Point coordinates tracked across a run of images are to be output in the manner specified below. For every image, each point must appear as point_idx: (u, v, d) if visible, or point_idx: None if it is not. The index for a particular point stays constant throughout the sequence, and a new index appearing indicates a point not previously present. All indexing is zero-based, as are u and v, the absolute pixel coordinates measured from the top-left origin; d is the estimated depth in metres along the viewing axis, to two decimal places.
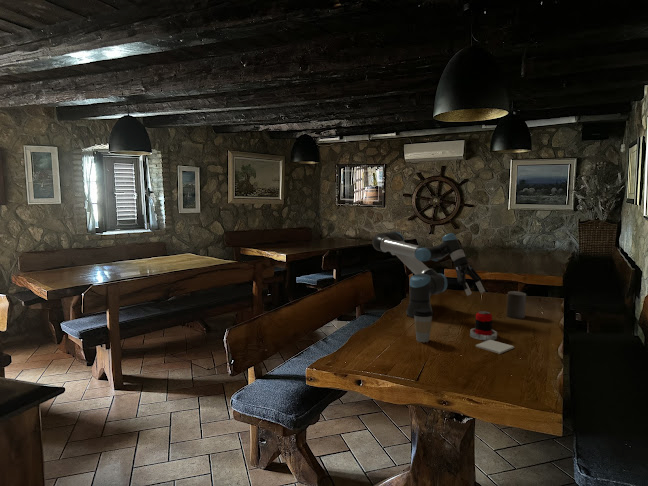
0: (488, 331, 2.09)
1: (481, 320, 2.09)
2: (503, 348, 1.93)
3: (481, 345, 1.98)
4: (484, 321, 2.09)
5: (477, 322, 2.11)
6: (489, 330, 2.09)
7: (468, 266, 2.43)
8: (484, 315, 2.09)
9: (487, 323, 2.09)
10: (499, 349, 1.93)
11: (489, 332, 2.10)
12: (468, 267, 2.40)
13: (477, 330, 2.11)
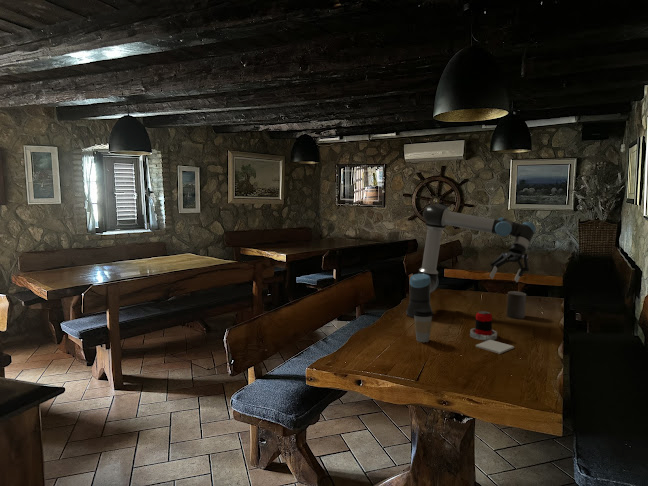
0: (488, 331, 2.09)
1: (481, 320, 2.09)
2: (503, 348, 1.93)
3: (481, 345, 1.98)
4: (484, 321, 2.09)
5: (477, 322, 2.11)
6: (489, 330, 2.09)
7: None
8: (484, 315, 2.09)
9: (487, 323, 2.09)
10: (499, 349, 1.93)
11: (489, 332, 2.10)
12: None
13: (477, 330, 2.11)
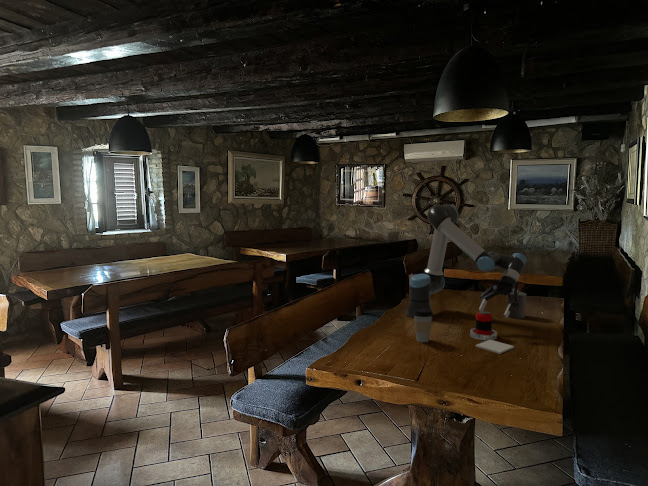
0: (488, 331, 2.09)
1: (481, 320, 2.09)
2: (503, 348, 1.93)
3: (481, 345, 1.98)
4: (484, 321, 2.09)
5: (477, 322, 2.11)
6: (489, 330, 2.09)
7: None
8: (484, 315, 2.09)
9: (487, 323, 2.09)
10: (499, 349, 1.93)
11: (489, 332, 2.10)
12: None
13: (477, 330, 2.11)
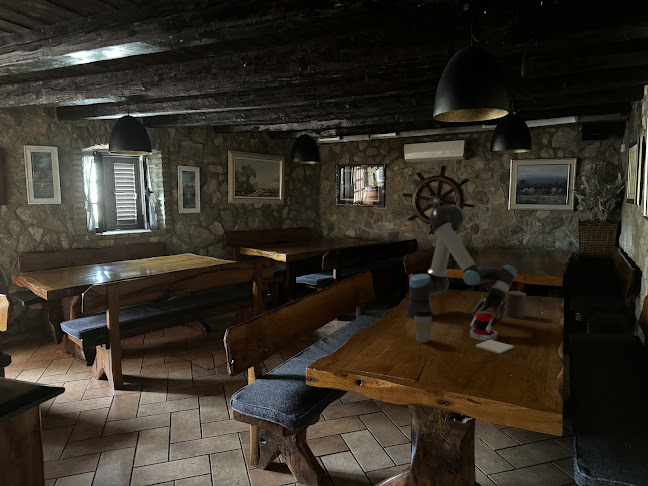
0: None
1: (481, 320, 2.09)
2: (503, 348, 1.93)
3: (481, 345, 1.98)
4: (484, 321, 2.09)
5: (477, 322, 2.11)
6: None
7: None
8: (484, 315, 2.09)
9: (487, 323, 2.09)
10: (499, 349, 1.93)
11: (489, 332, 2.10)
12: None
13: (477, 330, 2.11)
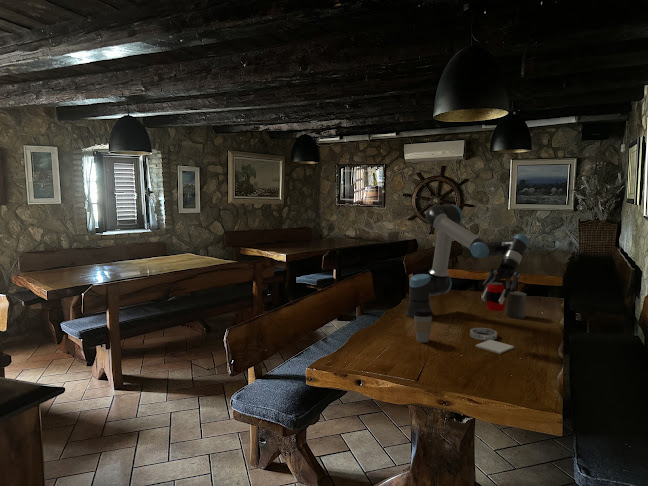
0: None
1: (493, 291, 1.95)
2: (503, 348, 1.93)
3: (481, 345, 1.98)
4: (497, 292, 1.94)
5: (489, 294, 1.97)
6: None
7: None
8: (496, 286, 1.95)
9: (500, 294, 1.95)
10: (499, 349, 1.93)
11: (502, 304, 1.95)
12: None
13: (489, 302, 1.97)
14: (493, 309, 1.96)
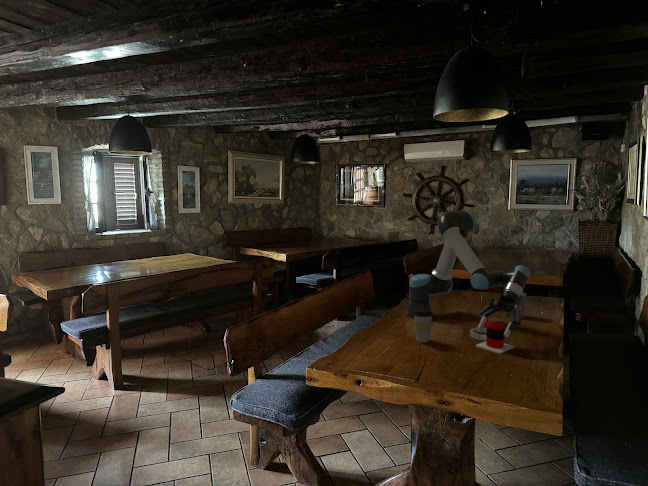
0: (500, 340, 1.94)
1: (493, 328, 1.94)
2: (503, 348, 1.93)
3: (481, 345, 1.98)
4: (496, 329, 1.93)
5: (488, 330, 1.96)
6: (501, 339, 1.94)
7: None
8: (496, 323, 1.93)
9: (499, 331, 1.93)
10: (499, 349, 1.93)
11: (501, 341, 1.94)
12: None
13: (488, 339, 1.96)
14: (492, 346, 1.95)
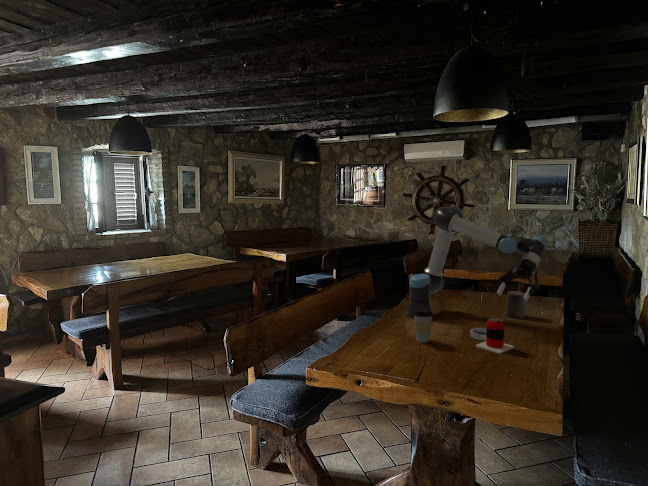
0: (500, 340, 1.94)
1: (493, 328, 1.94)
2: (503, 348, 1.93)
3: (481, 345, 1.98)
4: (496, 329, 1.93)
5: (488, 330, 1.96)
6: (501, 339, 1.94)
7: None
8: (496, 323, 1.93)
9: (499, 331, 1.93)
10: (499, 349, 1.93)
11: (501, 341, 1.94)
12: None
13: (488, 339, 1.96)
14: (492, 346, 1.95)
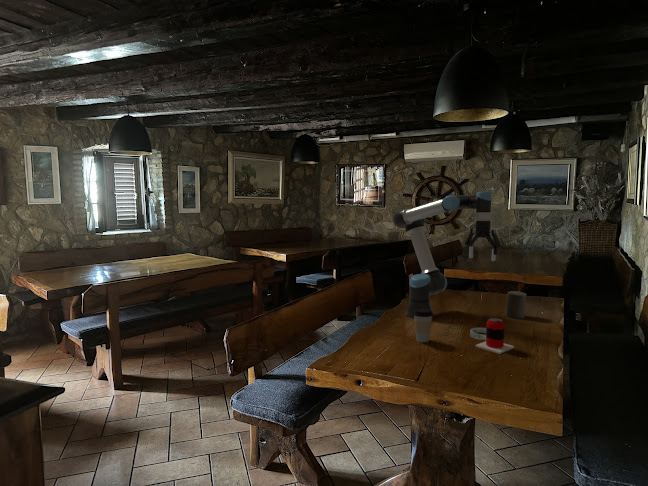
0: (500, 340, 1.94)
1: (492, 328, 1.94)
2: (503, 348, 1.93)
3: (481, 345, 1.98)
4: (496, 329, 1.93)
5: (488, 330, 1.96)
6: (501, 339, 1.94)
7: None
8: (496, 323, 1.93)
9: (499, 331, 1.93)
10: (499, 349, 1.93)
11: (501, 341, 1.94)
12: None
13: (488, 339, 1.96)
14: (492, 346, 1.95)
